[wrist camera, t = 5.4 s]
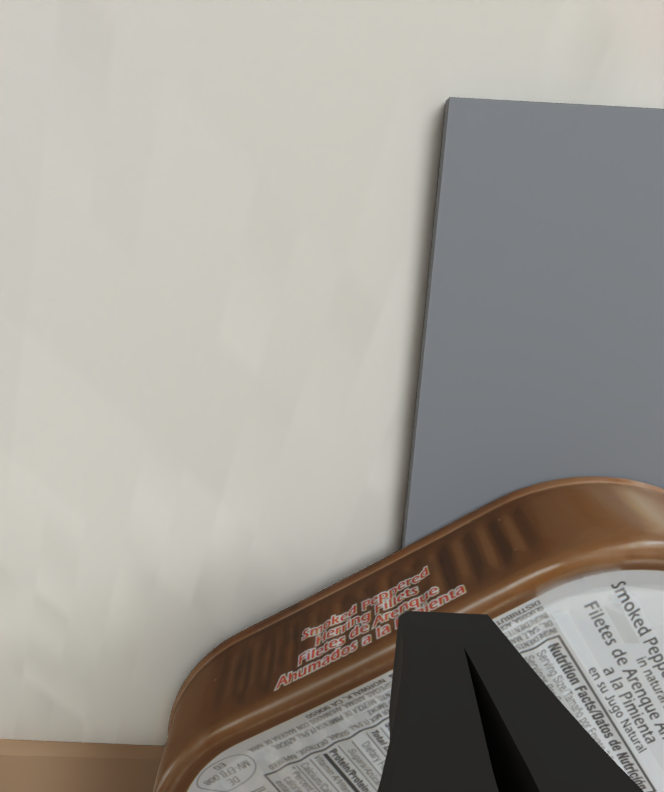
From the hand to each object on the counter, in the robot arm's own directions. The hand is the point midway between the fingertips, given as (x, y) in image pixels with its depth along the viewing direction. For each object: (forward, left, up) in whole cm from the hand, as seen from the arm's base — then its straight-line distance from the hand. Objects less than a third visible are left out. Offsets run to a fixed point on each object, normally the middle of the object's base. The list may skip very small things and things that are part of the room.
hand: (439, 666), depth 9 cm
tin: (-1, -1, -3) cm, 3 cm away
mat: (+4, 0, -5) cm, 6 cm away
